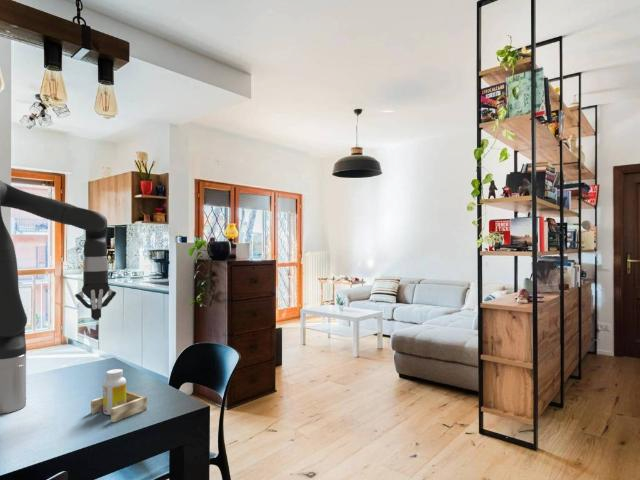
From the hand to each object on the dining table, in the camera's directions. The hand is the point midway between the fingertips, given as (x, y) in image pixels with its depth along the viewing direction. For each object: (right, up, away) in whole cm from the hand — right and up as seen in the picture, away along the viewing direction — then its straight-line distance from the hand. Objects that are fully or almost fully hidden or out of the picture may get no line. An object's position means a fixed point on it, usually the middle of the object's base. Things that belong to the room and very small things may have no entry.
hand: (96, 319), depth 140 cm
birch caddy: (+13, -27, -11) cm, 32 cm away
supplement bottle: (+12, -27, -11) cm, 32 cm away
